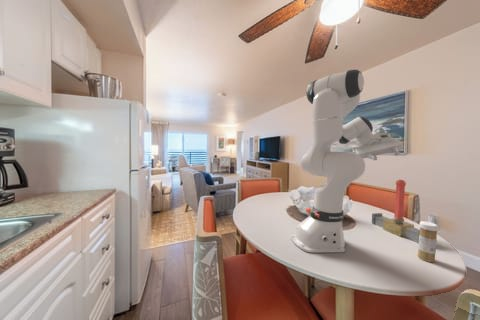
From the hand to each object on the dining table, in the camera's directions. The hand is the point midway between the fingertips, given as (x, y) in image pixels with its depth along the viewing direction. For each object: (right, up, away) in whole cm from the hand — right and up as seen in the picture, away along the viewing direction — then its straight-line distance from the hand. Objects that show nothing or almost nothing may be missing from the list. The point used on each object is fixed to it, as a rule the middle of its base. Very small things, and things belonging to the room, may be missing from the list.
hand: (386, 156), depth 86 cm
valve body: (+6, -37, +1) cm, 37 cm away
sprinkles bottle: (-3, -38, -21) cm, 44 cm away
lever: (+6, -31, 0) cm, 31 cm away
